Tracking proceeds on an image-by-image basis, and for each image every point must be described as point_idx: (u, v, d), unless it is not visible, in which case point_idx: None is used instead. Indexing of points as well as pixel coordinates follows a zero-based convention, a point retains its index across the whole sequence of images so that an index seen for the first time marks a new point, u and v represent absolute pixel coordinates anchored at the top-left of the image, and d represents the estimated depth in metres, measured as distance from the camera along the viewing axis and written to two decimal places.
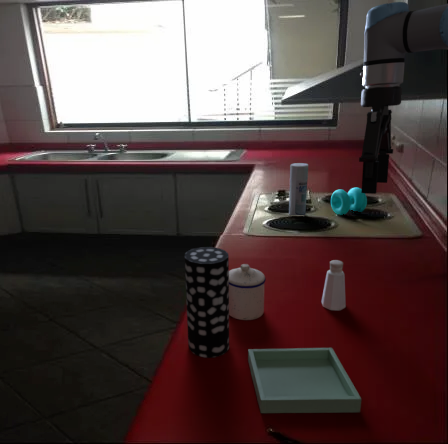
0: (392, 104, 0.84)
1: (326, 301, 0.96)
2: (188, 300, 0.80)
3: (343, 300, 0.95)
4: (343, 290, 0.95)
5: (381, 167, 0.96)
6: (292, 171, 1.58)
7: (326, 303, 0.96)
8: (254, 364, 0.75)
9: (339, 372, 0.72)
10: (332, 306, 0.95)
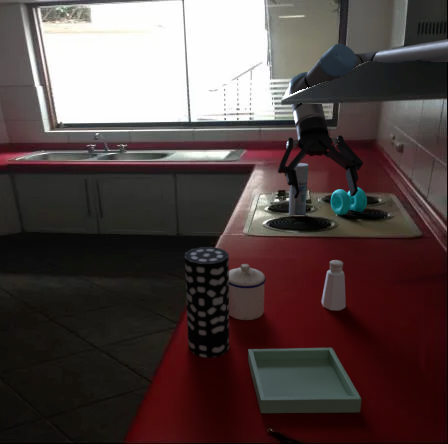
0: (305, 129, 1.06)
1: (326, 301, 0.96)
2: (188, 300, 0.80)
3: (343, 300, 0.95)
4: (343, 290, 0.95)
5: (349, 180, 1.01)
6: None
7: (326, 303, 0.96)
8: (254, 364, 0.75)
9: (339, 372, 0.72)
10: (332, 306, 0.95)
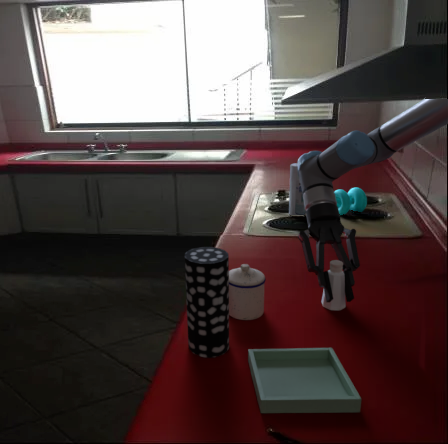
0: (316, 217, 1.00)
1: None
2: (188, 300, 0.80)
3: (343, 300, 0.95)
4: (343, 290, 0.95)
5: (345, 284, 0.94)
6: (292, 171, 1.58)
7: (326, 303, 0.96)
8: (254, 364, 0.75)
9: (339, 372, 0.72)
10: (332, 306, 0.95)
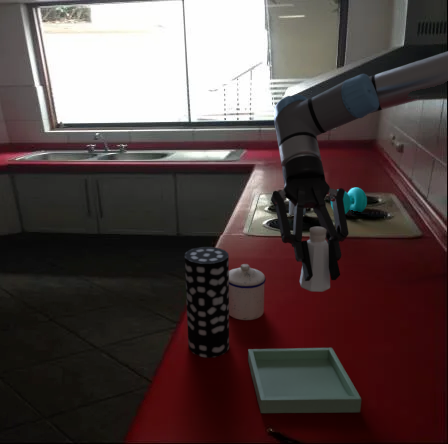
0: (293, 173, 0.78)
1: None
2: (188, 300, 0.80)
3: (326, 278, 0.74)
4: (327, 265, 0.73)
5: (329, 258, 0.73)
6: None
7: (305, 282, 0.75)
8: (254, 364, 0.75)
9: (339, 372, 0.72)
10: (312, 286, 0.74)
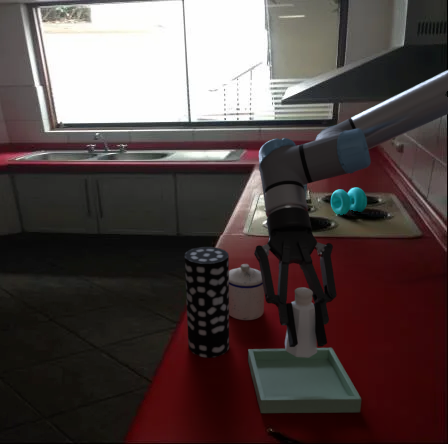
0: (278, 227, 0.73)
1: None
2: (188, 300, 0.80)
3: (313, 343, 0.68)
4: (313, 330, 0.68)
5: (316, 322, 0.68)
6: None
7: (290, 347, 0.69)
8: (254, 364, 0.75)
9: (339, 372, 0.72)
10: (298, 352, 0.68)
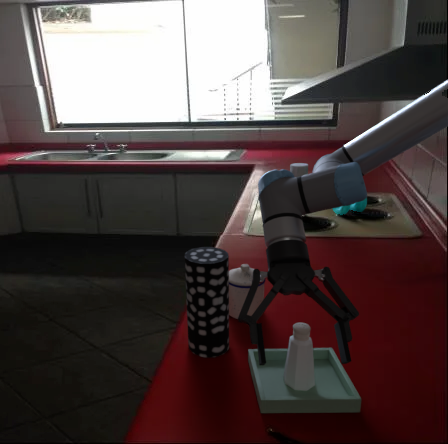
0: (277, 259, 0.75)
1: (289, 377, 0.71)
2: (188, 300, 0.80)
3: (310, 376, 0.70)
4: (311, 364, 0.70)
5: (339, 340, 0.70)
6: (292, 171, 1.58)
7: (289, 380, 0.71)
8: (254, 364, 0.75)
9: (339, 372, 0.72)
10: (296, 385, 0.70)
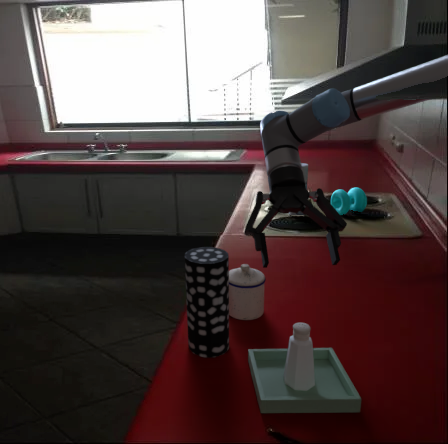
0: (277, 182, 0.88)
1: (289, 377, 0.71)
2: (188, 300, 0.80)
3: (310, 376, 0.70)
4: (311, 364, 0.70)
5: (330, 246, 0.83)
6: None
7: (289, 380, 0.71)
8: (254, 364, 0.75)
9: (339, 372, 0.72)
10: (296, 385, 0.70)
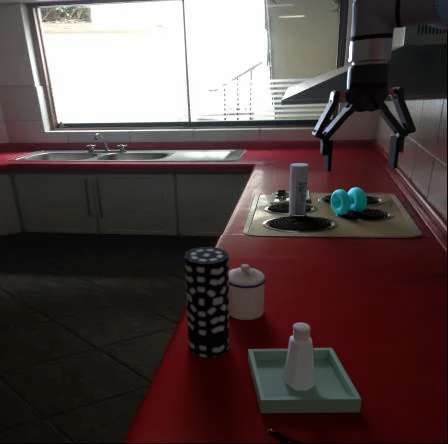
0: (359, 83, 0.82)
1: (289, 377, 0.71)
2: (188, 300, 0.80)
3: (310, 376, 0.70)
4: (311, 364, 0.70)
5: (392, 150, 0.88)
6: (292, 171, 1.58)
7: (289, 380, 0.71)
8: (254, 364, 0.75)
9: (339, 372, 0.72)
10: (296, 385, 0.70)
